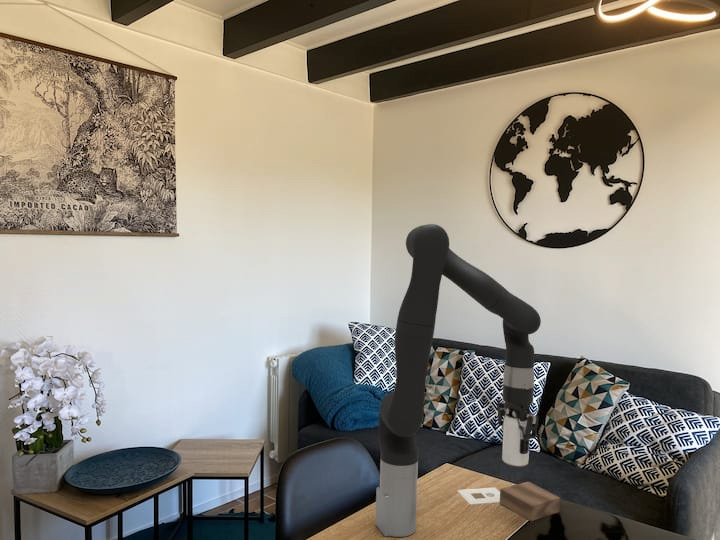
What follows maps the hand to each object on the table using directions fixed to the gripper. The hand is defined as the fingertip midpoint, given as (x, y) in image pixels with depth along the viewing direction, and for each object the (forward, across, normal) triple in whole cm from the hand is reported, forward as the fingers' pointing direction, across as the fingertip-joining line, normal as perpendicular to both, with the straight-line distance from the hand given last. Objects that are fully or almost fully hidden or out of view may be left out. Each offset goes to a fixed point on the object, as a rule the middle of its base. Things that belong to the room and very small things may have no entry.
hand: (515, 448), depth 139 cm
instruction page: (+19, -15, +1) cm, 24 cm away
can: (+4, 0, 0) cm, 4 cm away
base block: (+19, -5, +9) cm, 21 cm away
